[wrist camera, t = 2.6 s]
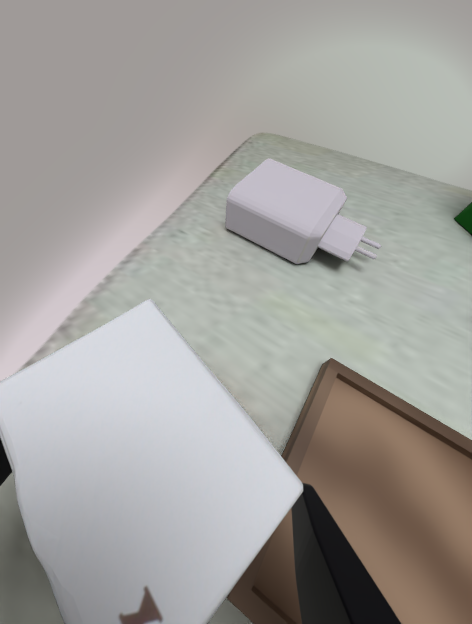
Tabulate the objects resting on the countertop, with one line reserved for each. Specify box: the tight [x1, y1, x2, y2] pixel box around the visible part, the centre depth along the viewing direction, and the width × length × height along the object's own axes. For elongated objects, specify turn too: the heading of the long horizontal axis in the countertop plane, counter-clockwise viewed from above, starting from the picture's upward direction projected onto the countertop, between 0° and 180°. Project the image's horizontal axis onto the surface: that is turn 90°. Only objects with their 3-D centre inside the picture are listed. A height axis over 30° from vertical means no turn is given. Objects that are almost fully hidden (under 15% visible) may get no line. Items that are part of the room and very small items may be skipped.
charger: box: [226, 158, 381, 264], centre depth 24 cm, size 5×9×15 cm
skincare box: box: [0, 299, 303, 624], centre depth 10 cm, size 6×4×12 cm
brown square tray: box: [227, 358, 472, 624], centre depth 13 cm, size 14×14×2 cm
